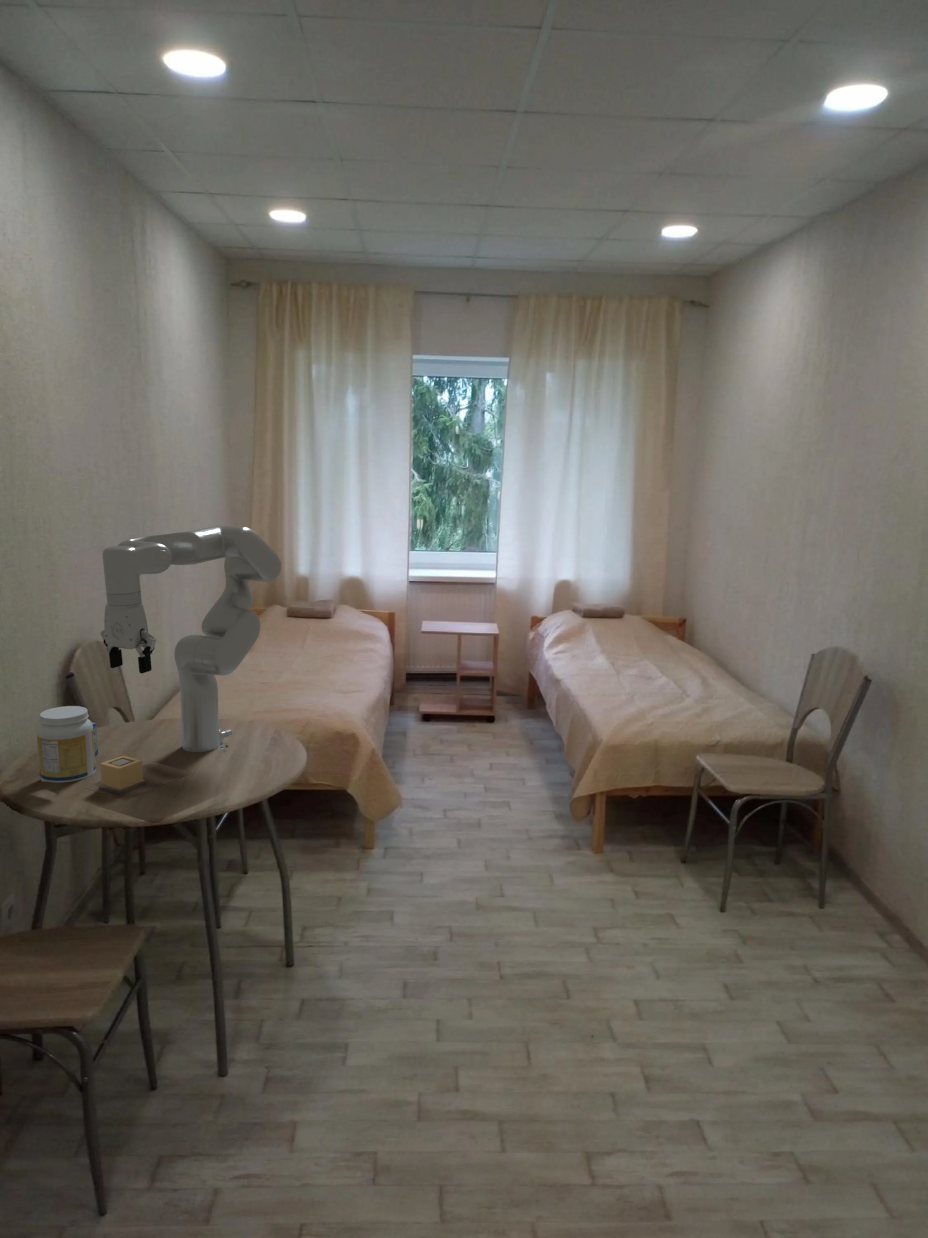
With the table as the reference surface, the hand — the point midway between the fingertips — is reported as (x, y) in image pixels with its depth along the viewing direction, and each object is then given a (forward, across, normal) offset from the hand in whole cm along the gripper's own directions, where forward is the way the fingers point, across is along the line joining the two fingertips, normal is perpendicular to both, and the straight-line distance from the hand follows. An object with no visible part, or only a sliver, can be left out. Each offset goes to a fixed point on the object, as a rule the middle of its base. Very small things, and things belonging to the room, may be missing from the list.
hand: (130, 669), depth 197 cm
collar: (+24, +5, -10) cm, 26 cm away
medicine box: (+28, -23, +1) cm, 36 cm away
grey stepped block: (+25, +5, -10) cm, 27 cm away
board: (+27, +5, -5) cm, 28 cm away
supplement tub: (+27, -13, -10) cm, 32 cm away
